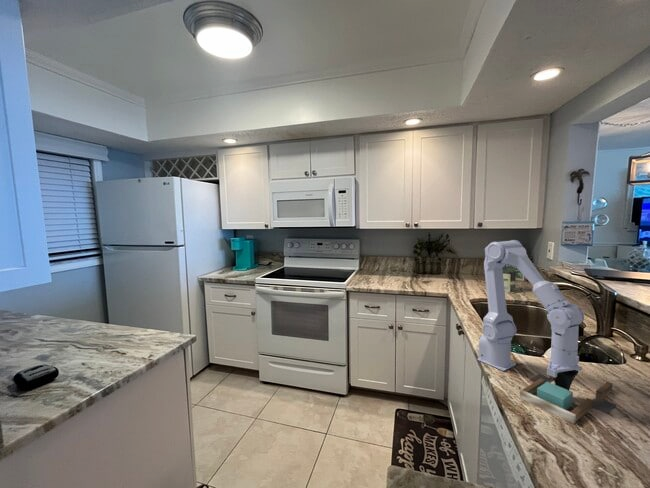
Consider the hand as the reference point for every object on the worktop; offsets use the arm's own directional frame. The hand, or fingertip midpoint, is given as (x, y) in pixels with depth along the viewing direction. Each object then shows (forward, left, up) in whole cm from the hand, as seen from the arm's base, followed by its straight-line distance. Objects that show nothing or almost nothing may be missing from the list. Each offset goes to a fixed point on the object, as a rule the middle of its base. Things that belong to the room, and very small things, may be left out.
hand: (562, 392), depth 81 cm
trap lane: (0, +4, -1) cm, 4 cm away
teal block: (0, -5, -2) cm, 5 cm away
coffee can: (-68, +99, -2) cm, 120 cm away
